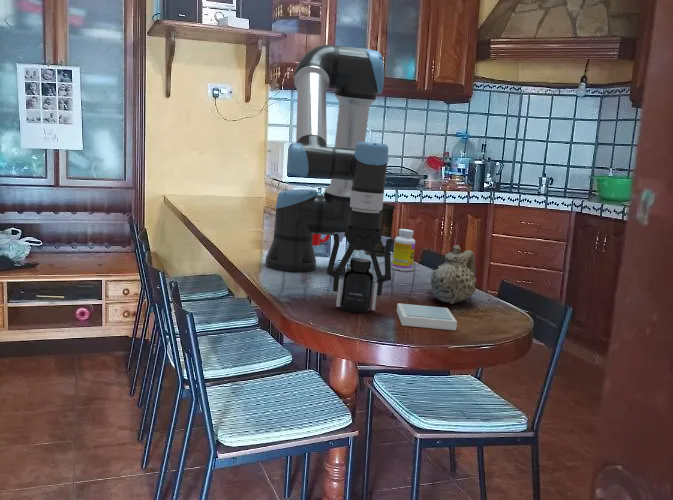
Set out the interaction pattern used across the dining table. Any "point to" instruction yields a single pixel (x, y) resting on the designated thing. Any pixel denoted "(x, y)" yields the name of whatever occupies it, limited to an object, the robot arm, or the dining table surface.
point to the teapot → (455, 277)
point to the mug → (319, 239)
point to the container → (384, 227)
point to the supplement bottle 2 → (403, 251)
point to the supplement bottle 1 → (357, 286)
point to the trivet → (426, 316)
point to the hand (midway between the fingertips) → (355, 306)
